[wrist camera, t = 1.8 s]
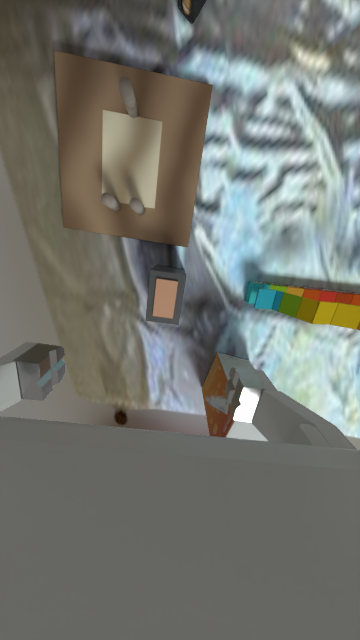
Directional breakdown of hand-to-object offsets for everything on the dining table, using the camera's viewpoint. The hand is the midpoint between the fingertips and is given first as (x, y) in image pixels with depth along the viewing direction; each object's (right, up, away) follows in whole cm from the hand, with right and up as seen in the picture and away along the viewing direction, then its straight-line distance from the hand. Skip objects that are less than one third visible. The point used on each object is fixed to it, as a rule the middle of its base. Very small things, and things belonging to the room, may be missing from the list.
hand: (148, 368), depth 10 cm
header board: (-4, +21, +14) cm, 26 cm away
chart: (+27, +6, +21) cm, 35 cm away
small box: (+10, -7, +25) cm, 28 cm away
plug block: (0, +7, +20) cm, 21 cm away
